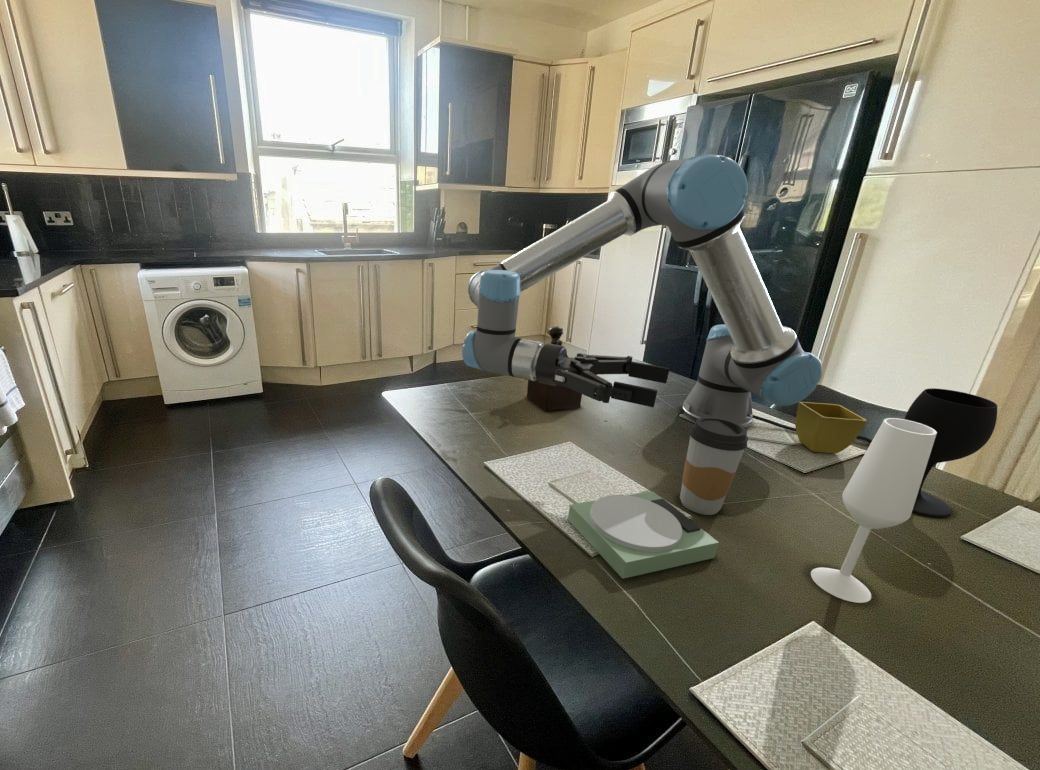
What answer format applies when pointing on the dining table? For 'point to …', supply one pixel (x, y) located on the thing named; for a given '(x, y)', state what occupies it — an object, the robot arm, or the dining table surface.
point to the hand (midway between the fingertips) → (662, 386)
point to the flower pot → (827, 426)
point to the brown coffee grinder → (553, 388)
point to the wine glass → (950, 434)
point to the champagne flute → (880, 496)
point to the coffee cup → (711, 463)
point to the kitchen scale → (641, 533)
